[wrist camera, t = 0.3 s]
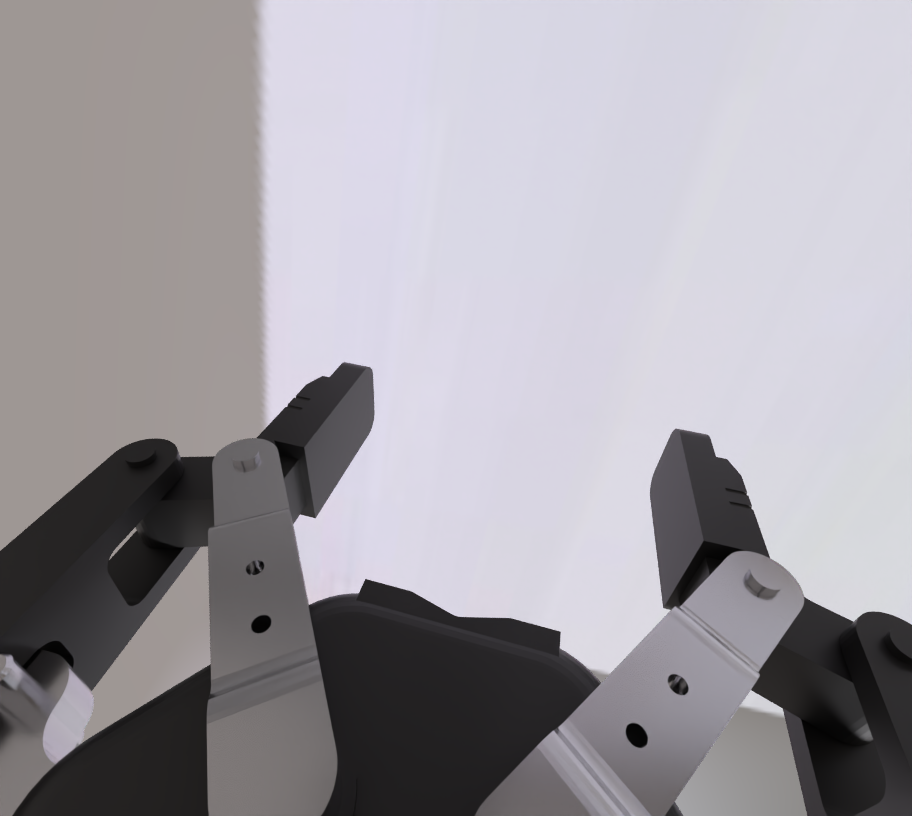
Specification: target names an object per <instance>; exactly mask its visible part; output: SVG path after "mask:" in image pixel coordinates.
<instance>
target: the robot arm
mask: <svg viewBox="0 0 912 816" xmlns="http://www.w3.org/2000/svg"><path fill="white" fill-rule="evenodd" d="M373 421H374V389H373V372H372V369H371V368H370V367H366V366H361V365H356V364H351V363H345V362H344V363H342V364H341V365H340V366H339V367H338V368H337V370H336V371H335V372H334V373H333V374H332V375H331V376H330V377H325V376H322V377H320V378H318V379H316V380H314V381H312V382H310V383H308V384H307V385H306V386H305V387H304V388H303V389H302V390H301V391H300V392H299V393H298V394H297V395H296V398H294V399H293V400H292V401H291V402H290V403H289V404H288V407H285V408H284V409H283V410H282V411H281V412H280V414H279V415H278V416H277V417H276V418H275V419H274V420H273V421H272V422H271V423H270V424H269V425H268V426H267V427H266V429H265V430H264V431H263V432H262V433H261V434H260V435H259V436H258V437H257V438H252V439H251V438H250V439H243V440H239V441H236V442H233V443H231V444H229V445H227V446H225V447H224V448H223V449H221V450H220V451H219V452H218V453H217V454H216V456H214V457H180V455H179V452H178V450H177V447H176V446H175V444H173V443H172V442H170V441H168V440H164V439H145V440H140V441H137V442H134V443H131V444H129V445H127V446H125V447H123V448H121V449H119V450H118V451H116V452H115V453H114V454H113V455H111V456H110V457H109V458H108V459H107V460H106V461H105V462H103V463H102V464H101V465H100V466H99V467H98V468H96V469H95V470H94V471H93V472H92V473H91V474H89V475H88V476H87V477H86V478H85V479H83V480H82V481H81V482H80V483H79V484H78V485H76V486H75V487H74V488H73V489H72V490H71V491H70V492H68V493H67V494H66V495H65V496H64V497H63V498H61V499H60V500H59V501H58V502H57V503H56V504H54V505H53V506H52V507H51V508H50V509H49V510H47V511H46V512H45V513H44V514H43V515H42V516H40V517H39V518H38V519H37V520H36V521H35V522H33V523H32V524H31V525H30V526H29V527H28V528H27V529H25V530H24V531H23V532H22V533H21V534H20V535H19V536H17V537H16V538H15V539H14V540H13V541H11V542H10V543H9V544H8V545H7V546H6V547H4V548H3V549H2V550H1V551H0V816H683V815H682V813H681V811H680V810H679V808H678V806H677V805H676V803H675V800H676V799H677V797H678V796H679V794H680V793H681V791H682V790H683V788H684V787H685V785H686V784H687V782H688V781H689V780H690V778H691V777H692V775H693V774H694V772H695V771H696V769H697V768H698V766H699V765H700V763H701V762H702V761H703V759H704V757H705V756H706V755H707V753H708V752H709V750H710V749H711V747H712V746H713V744H714V743H715V741H716V740H717V739H718V737H719V736H720V734H721V733H722V731H723V730H724V728H725V727H726V725H727V724H728V722H729V721H730V719H731V718H732V716H733V715H734V714H735V712H736V711H737V709H738V708H739V706H740V705H741V703H742V702H743V700H744V699H745V698H746V696H747V695H748V693H749V692H750V690H752V691H754V692H755V693H757V694H759V695H761V696H762V697H764V698H766V699H768V700H769V701H771V702H773V703H774V704H776V705H778V706H780V707H781V708H783V711H784V715H785V719H786V724H787V729H788V733H789V737H790V741H791V746H792V750H793V755H794V759H795V763H796V768H797V772H798V776H799V781H800V785H801V790H802V794H803V798H804V803H805V807H806V811H807V816H912V625H911V624H910V623H908V622H906V621H904V620H902V619H900V618H898V617H895V616H893V615H890V614H886V613H882V612H867V613H864V614H862V615H861V616H860V617H858V618H857V619H856V620H855V621H854V622H853V621H851V620H849V619H847V618H845V617H842V616H840V615H838V614H836V613H834V612H832V611H830V610H828V609H826V608H824V607H822V606H820V605H818V604H816V603H814V602H812V601H810V600H808V599H807V598H805V597H804V595H803V592H802V589H801V587H800V585H799V583H798V582H797V581H796V579H795V578H794V577H793V576H792V575H791V574H790V572H788V571H787V570H786V569H785V568H784V567H783V566H781V565H780V564H779V563H777V562H775V561H774V560H772V559H770V557H769V554H768V551H767V548H766V545H765V542H764V539H763V537H762V534H761V531H760V528H759V525H758V522H757V519H756V517H755V514H754V511H753V510H752V509H751V507H752V505H751V502H750V499H749V496H747V491H746V488H745V485H744V482H743V479H742V476H741V475H740V474H739V473H738V471H737V470H736V469H735V468H734V467H733V466H732V464H731V463H730V462H729V461H728V460H727V459H723V458H718V457H716V456H715V453H714V449H713V446H712V443H711V439H710V437H709V436H708V435H706V434H701V433H696V432H691V431H686V430H681V429H675V430H674V431H673V432H672V434H671V436H670V438H669V440H668V442H667V445H666V447H665V449H664V451H663V454H662V456H661V458H660V460H659V463H658V465H657V467H656V469H655V472H654V474H653V477H652V482H651V488H650V500H651V508H652V517H653V525H654V534H655V542H656V550H657V559H658V567H659V576H660V584H661V593H662V601H663V608H666V609H670V610H671V611H670V612H669V613H668V614H667V615H666V616H665V617H664V618H663V619H662V620H661V621H660V622H659V623H658V624H657V625H656V626H655V628H654V629H653V630H652V631H651V632H650V633H649V634H648V635H647V636H646V637H645V638H644V639H643V640H642V641H641V642H640V643H639V644H638V645H637V646H636V647H635V648H634V649H633V651H632V652H631V653H630V654H629V655H628V656H627V657H626V658H625V659H624V660H623V661H622V662H621V663H620V664H619V665H618V666H617V667H616V668H615V669H614V670H613V671H612V673H611V674H610V675H609V676H608V677H607V678H606V679H605V680H604V681H603V682H602V683H601V682H600V681H599V680H598V679H597V678H596V677H595V676H594V675H593V674H592V672H591V671H590V670H588V669H587V668H586V667H585V666H584V665H583V664H582V663H581V662H579V661H578V660H577V659H575V658H574V657H572V656H571V655H570V654H568V653H567V652H565V651H563V650H562V649H560V633H561V632H559V631H556V630H552V629H548V628H545V627H541V626H537V625H534V624H530V623H526V622H522V621H519V620H515V619H511V618H475V617H457V616H454V615H452V614H450V613H448V612H447V611H445V610H443V609H441V608H440V607H438V606H436V605H434V604H433V603H431V602H429V601H427V600H425V599H424V598H422V597H420V596H418V595H417V594H415V593H413V592H411V591H408V590H404V589H400V588H397V587H393V586H389V585H385V584H382V583H378V582H374V581H371V580H367V579H365V581H364V584H363V586H362V588H361V590H360V592H359V594H343V595H337V596H333V597H329V598H326V599H323V600H320V601H317V602H315V603H313V604H310V605H309V602H308V597H307V592H306V587H305V582H304V577H303V572H302V567H301V562H300V557H299V552H298V547H297V542H296V537H295V532H294V527H293V524H294V522H295V521H296V519H297V518H298V516H299V515H300V514H301V515H305V516H309V517H313V518H316V517H317V515H318V513H319V512H320V510H321V509H322V507H323V505H324V504H325V502H326V501H327V499H328V498H329V496H330V494H331V493H332V491H333V490H334V488H335V487H336V485H337V483H338V482H339V480H340V479H341V477H342V476H343V474H344V472H345V471H346V469H347V468H348V466H349V465H350V463H351V461H352V460H353V458H354V457H355V455H356V454H357V452H358V450H359V449H360V447H361V446H362V444H363V442H364V441H365V439H366V438H367V436H368V435H369V433H370V431H371V428H372V425H373ZM135 527H136V529H137V531H136V532H135V533H134V534H133V535H132V536H131V537H130V539H129V540H128V541H127V542H126V543H125V544H124V545H123V546H122V547H121V548H120V549H119V550H118V552H117V553H116V554H115V555H114V556H113V557H112V558H111V559H110V560H109V558H110V556H111V554H112V553H113V551H114V550H115V548H116V547H117V546H118V545H119V544H120V543H121V542H122V541H123V540H124V539H125V538H126V536H127V535H128V534H129V533H130V532H131V531H132V530H133V529H134V528H135ZM203 546H208V562H209V604H210V605H209V606H210V607H209V608H210V651H211V664H210V665H209V666H207V667H205V668H204V669H202V670H200V671H199V672H197V673H195V674H194V675H192V676H191V677H189V678H187V679H186V680H184V681H182V682H181V683H179V684H178V685H176V686H174V687H172V688H171V689H169V690H167V691H166V692H164V693H163V694H161V695H160V696H158V697H156V698H154V699H153V700H151V701H149V702H148V703H147V704H144V705H143V706H141V707H140V708H138V709H136V710H135V711H133V712H132V713H130V714H128V715H127V716H125V717H123V718H121V719H120V720H118V721H117V722H115V723H113V724H112V725H110V726H108V727H107V728H105V729H104V730H102V731H100V732H99V733H97V734H95V735H94V736H92V737H91V738H89V739H88V740H86V741H84V742H83V743H82V744H81V742H82V740H83V737H84V729H85V727H86V725H87V723H88V722H89V719H90V717H91V714H92V711H93V704H94V699H93V694H92V692H91V691H92V690H93V689H94V687H95V686H96V684H97V683H98V682H99V681H100V679H101V678H102V677H103V675H104V674H105V673H106V671H107V670H108V669H109V667H110V666H111V665H112V663H113V662H114V660H115V659H116V658H117V657H118V655H119V654H120V653H121V651H122V650H123V649H124V648H125V646H126V645H127V644H128V642H129V641H130V640H131V638H132V637H133V636H134V634H135V633H136V632H137V630H138V629H139V628H140V626H141V625H142V624H143V622H144V621H145V620H146V618H147V617H148V616H149V615H150V613H151V612H152V611H153V609H154V608H155V607H156V605H157V604H158V603H159V601H160V600H161V599H162V597H163V596H164V595H165V593H166V592H167V591H168V589H169V588H170V587H171V585H172V584H173V583H174V581H175V580H176V579H177V577H178V576H179V575H180V573H181V572H182V571H183V569H184V568H185V567H186V566H187V564H188V563H189V562H190V560H191V559H192V558H193V556H194V555H195V554H196V552H197V551H198V550H199V548H200V547H203Z"/></svg>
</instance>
